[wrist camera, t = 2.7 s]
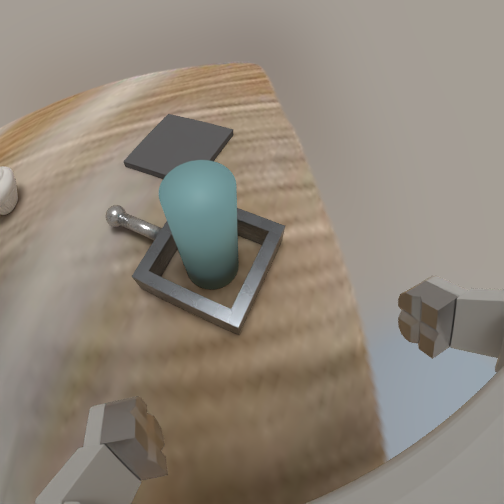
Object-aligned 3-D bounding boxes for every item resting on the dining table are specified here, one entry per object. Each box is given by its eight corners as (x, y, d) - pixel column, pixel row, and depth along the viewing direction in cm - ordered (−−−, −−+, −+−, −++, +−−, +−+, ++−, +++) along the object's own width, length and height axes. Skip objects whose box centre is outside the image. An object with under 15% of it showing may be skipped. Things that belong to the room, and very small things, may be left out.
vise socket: (88, 259, 25) (76, 246, 23) (138, 187, 29) (132, 171, 27) (238, 335, 23) (238, 327, 20) (281, 241, 27) (285, 226, 24)
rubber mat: (125, 166, 31) (123, 161, 30) (169, 118, 35) (168, 114, 34) (193, 189, 29) (192, 183, 28) (233, 134, 33) (233, 129, 32)
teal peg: (177, 276, 25) (144, 204, 16) (201, 234, 27) (184, 152, 18) (224, 297, 24) (213, 231, 15) (246, 253, 26) (249, 172, 17)
